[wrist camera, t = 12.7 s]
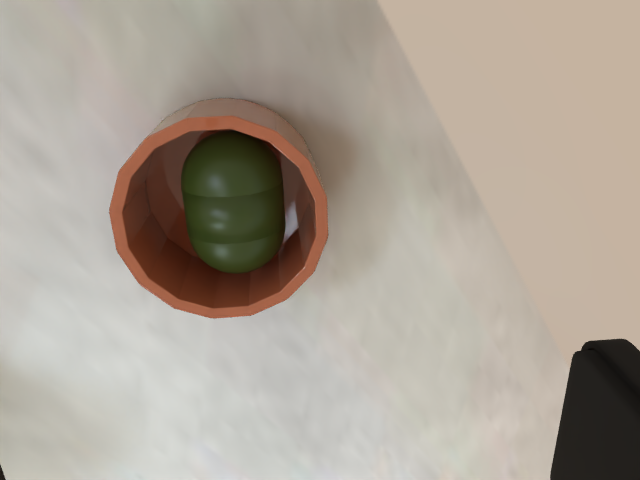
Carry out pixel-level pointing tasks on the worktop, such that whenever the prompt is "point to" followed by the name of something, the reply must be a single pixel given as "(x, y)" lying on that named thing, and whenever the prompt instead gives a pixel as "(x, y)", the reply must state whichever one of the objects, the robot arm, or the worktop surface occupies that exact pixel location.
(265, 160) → the avocado
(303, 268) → the terracotta bowl
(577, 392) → the robot arm
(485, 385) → the worktop surface
